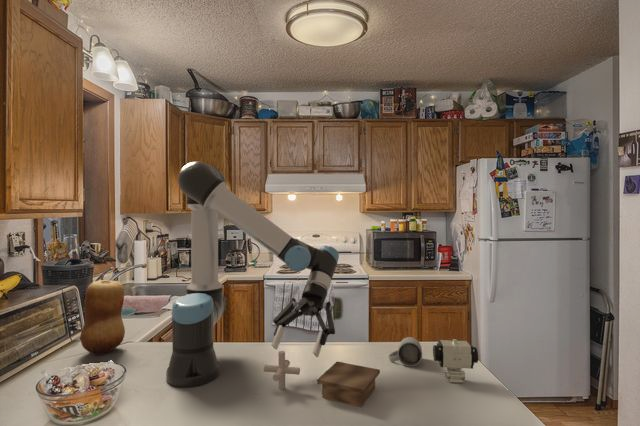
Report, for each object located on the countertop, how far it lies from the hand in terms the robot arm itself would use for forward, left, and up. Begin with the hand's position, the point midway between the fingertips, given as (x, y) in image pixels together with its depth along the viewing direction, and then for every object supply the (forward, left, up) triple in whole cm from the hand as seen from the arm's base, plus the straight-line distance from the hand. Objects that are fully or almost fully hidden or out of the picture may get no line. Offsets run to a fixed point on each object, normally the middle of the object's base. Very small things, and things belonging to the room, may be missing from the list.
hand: (294, 351), depth 108 cm
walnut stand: (+17, +1, -9) cm, 19 cm away
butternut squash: (-71, -10, -9) cm, 73 cm away
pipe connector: (-1, -5, -9) cm, 10 cm away
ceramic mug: (+26, +28, -9) cm, 39 cm away
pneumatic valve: (+42, +20, -9) cm, 47 cm away
